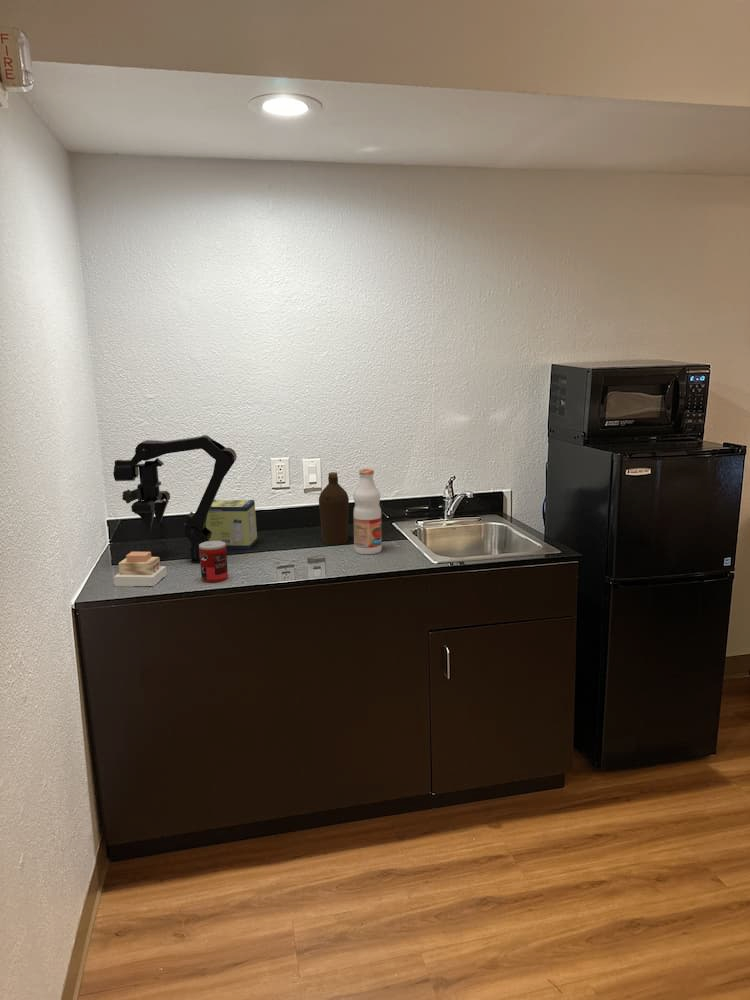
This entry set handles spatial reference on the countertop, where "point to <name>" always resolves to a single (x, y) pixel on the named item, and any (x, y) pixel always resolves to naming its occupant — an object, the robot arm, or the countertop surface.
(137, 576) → the white flat block
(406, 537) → the countertop surface
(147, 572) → the pallet
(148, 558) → the block
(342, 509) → the olive oil
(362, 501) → the fruit juice
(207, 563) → the canned food
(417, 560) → the countertop surface
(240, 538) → the protein box
